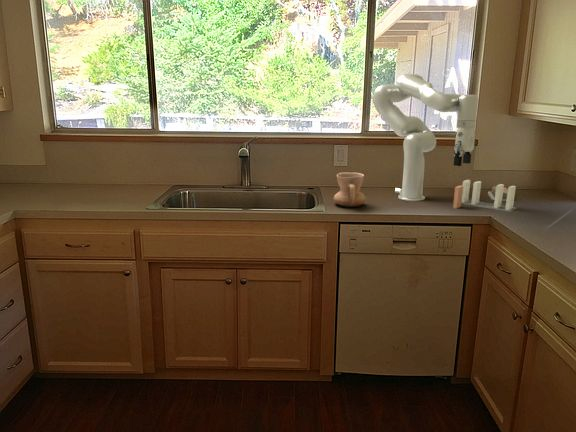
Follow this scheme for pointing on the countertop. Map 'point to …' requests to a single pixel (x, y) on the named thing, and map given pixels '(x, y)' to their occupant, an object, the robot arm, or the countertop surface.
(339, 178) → the ceramic jug
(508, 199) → the domino
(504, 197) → the packaged product
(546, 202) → the countertop surface
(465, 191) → the domino
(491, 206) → the mat
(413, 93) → the robot arm
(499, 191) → the domino
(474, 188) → the domino
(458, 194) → the domino
